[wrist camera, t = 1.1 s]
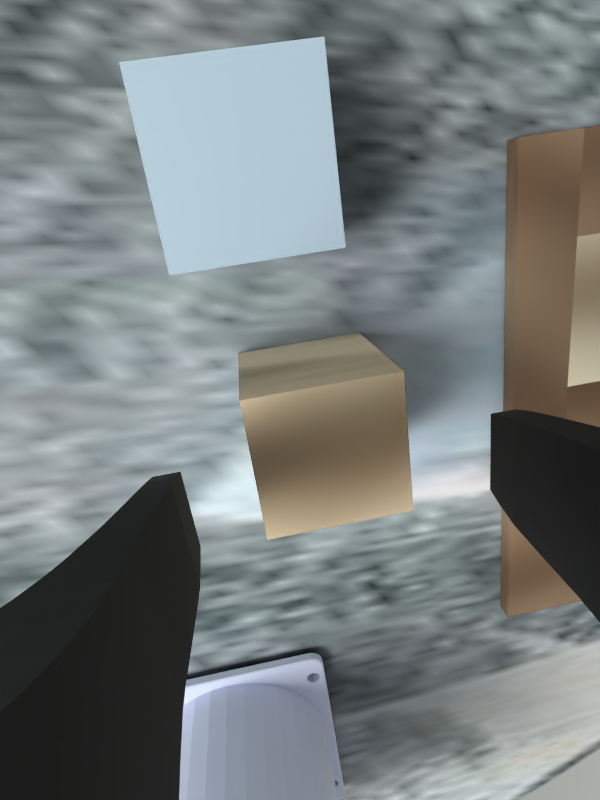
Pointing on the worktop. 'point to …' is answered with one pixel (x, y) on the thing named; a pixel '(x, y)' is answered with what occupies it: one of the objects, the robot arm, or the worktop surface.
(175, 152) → the slate grey cube
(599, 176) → the board
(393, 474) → the tan wooden cube
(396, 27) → the worktop surface
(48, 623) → the robot arm
